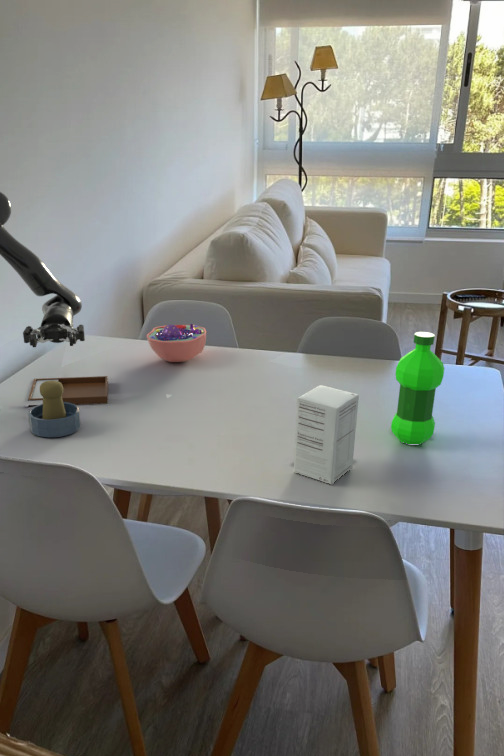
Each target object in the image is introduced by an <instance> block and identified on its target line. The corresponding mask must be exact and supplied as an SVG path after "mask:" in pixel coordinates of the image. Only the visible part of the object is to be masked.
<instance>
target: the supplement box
mask: <svg viewBox="0 0 504 756" xmlns="http://www.w3.org/2000/svg"><path fill="white" fill-rule="evenodd" d="M359 398H360V395H359V394H357V393H354V392H350V391H346V390H341V389H339V388H335V387H330V386H327V385H322V384H319V385H318V386H316V387H314V388H312V389H311V390H309V391H307V392H306V393H304V394H302V395H300V396H298V397H297V398H296V414H295V415H296V416H295V434H294V435H295V436H294V437H295V438H294V457H293V473H294V472H297V473H300V474H303V475H306V476H309V477H312V478H315V479H318V480H321V481H324V482H327V483H330V484H332V483H333V484H335V483H336V482H337V481H338V480H340V479H341V478H342V477H343V476H345V475H346V474H347V473H348V472H350V471H351V470H352V469H353V465H354V453H355V442H356V431H357V430H356V429H357V420H358V409H359ZM351 468H352V469H351ZM350 469H351V470H350ZM349 470H350V471H349ZM347 471H348V472H347ZM346 472H347V473H346ZM345 473H346V474H345ZM344 474H345V475H344ZM342 475H343V476H342ZM341 476H342V477H341ZM340 477H341V478H340ZM339 478H340V479H339ZM337 479H338V480H337ZM336 480H337V481H336ZM335 481H336V482H335ZM334 482H335V483H334ZM333 484H332V485H333Z"/></svg>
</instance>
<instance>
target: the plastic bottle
mask: <svg viewBox="0 0 504 756" xmlns="http://www.w3.org/2000/svg"><path fill="white" fill-rule="evenodd" d="M435 336H436V335H435V334H434V333H433V332H428V331H416V332H415V333H414V336H413V337H414V338H413V343H414V344H415V348H414V349H413V350H410V351H409V352H407V353H406V354H405V355H404V356H402V357H400V359H399V361H398V363H397V365H396V368H395V380H396V382H398V383H399V392H398V399H397V400H398V401H397V409H396V412H395V413H394V416H393V418H392V421H391V425H390V429H391V432H392V434H393V435H394V436H395V437H396V438H397V439H398V441H399V442H400V441H401V442H400V443H402V442H404V443H407V444H420V443H422V444H423V443H425V442H428V441H429V440H430V439H431V438H432V436H433V435H434V432H435V426H436V422H435V419H434V416H433V411H434V403H435V397H436V391H437V390H436V389H437V388H438V387H440V386H441V384H442V382H443V379H444V375H445V365H444V362H443V361H442V360H441V358H439V357H438V355H436V354H435V353H434V352H433V351H432V350H431V347H432V345H434V343H435ZM420 445H421V444H420Z"/></svg>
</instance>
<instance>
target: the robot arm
mask: <svg viewBox="0 0 504 756" xmlns="http://www.w3.org/2000/svg"><path fill="white" fill-rule="evenodd" d="M11 214H12V204H11V202H10V199H9V198H8V197H7V196H6V195H5V193H3V192H1V191H0V256H1V257H2V258H3V259H4V261H6V263H8V264H9V266H11V268H12V269H13V270H14V271H15V272H16V273H17V275H18V276H19V277H20V278H21V279H22V281H23V282H24V283H25V284H26V286H27V287H28V288H29V289H30V290H31V292H32V293H33V294H34V295H35V296H37V297H45V296H48V295H53V294H54V296H53V297H51V298H49V299H48V300H46V301H45V302H44V303H43V304H42V306H41V311H42V314H43V316H42V320H41V323H40V326H39V327H37V328H36V329H35V328H33V327H32V326H30V325H28V326H26V327H25V329H24V330H23V332H22V337H23V343H24V344H29V346H31V347H32V348H37V345H38V343H41V344H44V343H46V342H51V343H54V344H61V343H64V342H67V343H69V346H70V347H74V345H77V343H78V341H79V342H85V341H86V338H85V337H86V335H85V325H84V324H79V325H78V326H76V327H74V316H76V315H77V314H78V313H80V312H81V311H82V308H83V307H82V306H83V304H82V300H81V299H80V297H79V296H78V295H77V294H76V293H75V292H74V291H72V289H69V288H68V287H67V286H66V285H64V284H63V283H62V282H61V281H59V280H58V279H57V278H56V277H55V275H54V274H53V273H52V272H51V271H50V270H49V268H48V267H47V266H46V264H45V263H44V262H43V260H41V259H40V258H39V256H38V255H36V254H35V253H34V252H33V251H32V250H31V249H29V248H28V247H27V246H25V245H24V244H22V243H21V242H20V241H19V240H17V239H16V238H15V237H14V236H13V235H12V234H11V233H10V232H9V231H8V230H7V229H6V228H5V226H4V225H6V223H7V222H8V221H9V219H10V218H11Z"/></svg>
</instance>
